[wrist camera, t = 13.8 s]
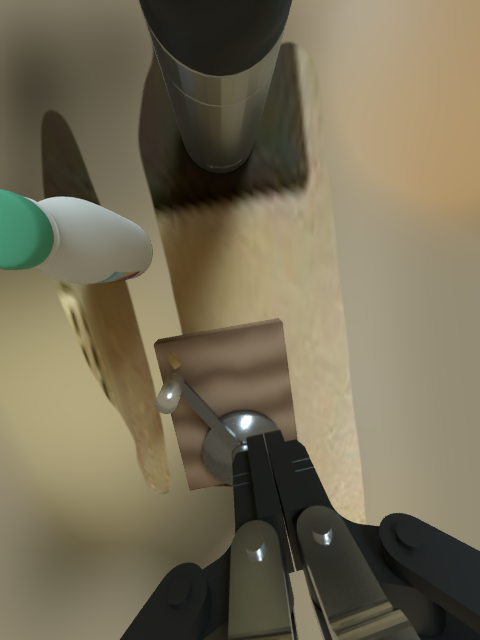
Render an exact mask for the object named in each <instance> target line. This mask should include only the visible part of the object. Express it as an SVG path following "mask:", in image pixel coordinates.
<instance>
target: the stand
mask: <svg viewBox="0 0 480 640" xmlns="http://www.w3.org/2000/svg"><path fill="white" fill-rule="evenodd" d="M154 348H155V352H156V356H157V360H158V364H159V368H160V372H161V376H162V380H163V384H164V383H165V381H166V378H167V377H168V376H169V375H170V374H172V373H178V374H180V375H182V376H183V378H184V379H185V380H186V382H187V383H188V384H189V385H190V386H191V387H192V388H193V389H194V390H195V391H196V392H197V394H198V395H199V396H200V397H201V398H202V399H203V400H204V401H205V402H206V403H207V404H208V406H209V407H210V408H211V409H212V410H213V411H214V412H215V413H216V414H217V415H218V417H221V416H222V415H224V414H226V413H229V412H231V411H235V410H243V409H244V410H254V411H258V412H260V413H263V414H265V415H266V416H268V417H269V418H271V419H272V420H273V421H274V423H275V424H276V425H277V427H278V429H280V430H281V432H282V435H283V438H284V441H285V442H286V441H290V440H294V439H296V440H297V432H296V424H295V416H294V408H293V401H292V393H291V385H290V377H289V369H288V362H287V354H286V346H285V338H284V330H283V323H282V321H281V320H280V319H279V318H278V319H272V320H266V321H260V322H255V323H249V324H243V325H238V326H232V327H226V328H220V329H215V330H209V331H203V332H198V333H192V334H186V335H181V336H175V337H169V338H163V339H158V340H157V341H156V343H155V344H154ZM171 416H172V420H173V424H174V428H175V432H176V436H177V440H178V444H179V448H180V452H181V456H182V460H183V464H184V468H185V472H186V476H187V480H188V484H189V488H190V490H195V489H200V488H205V487H210V486H215V485H221V484H225V483H223V482H221V481H219V480H218V479H216V478H215V477H214V476H212V475H211V473H210V472H209V471H208V469H207V468H206V466H205V464H204V460H203V442H204V437H205V435H206V432H207V430H208V429H209V426H208V425H207V424H206V422H205V421H204V420H203V419H202V418H201V417H200V416H199V415H198V414H197V413H196V412H195V411H194V410H193V409H192V408H191V406H190V405H189V404H188V403H187V402H186V401H185V400H184V399H183V398H182V397H181V396H180V399H179V402H178V405H177V408H176V410H175V411H173V412H172V413H171ZM297 441H298V440H297Z"/></svg>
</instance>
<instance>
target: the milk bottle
mask: <svg viewBox="0 0 480 640" xmlns="http://www.w3.org/2000/svg"><path fill="white" fill-rule="evenodd" d="M152 254H153V249H152V244H151V241H150V239H149V237H148V235H147V234H146V232H145V231H144V230H143V229H142V228H141V227H140V226H138V225H137V224H135V223H133V222H132V221H130V220H128V219H126V218H124V217H122V216H120V215H118V214H116V213H114V212H111V211H109V210H107V209H105V208H103V207H101V206H99V205H96V204H94V203H91V202H88V201H86V200H82V199H78V198H73V197H54V198H48V199H45V200H42V201H39V202H36V201H34V200H32V199H29V198H26V197H23V196H20V195H18V194H16V193H13V192H9V191H6V190H2V189H0V269H6V270H21V269H29V270H30V269H37V268H38V269H39V270H40V271H42V272H44V273H45V274H47V275H49V276H50V277H53V278H55V279H57V280H60V281H64V282H68V283H74V284H97V283H106V282H113V281H120V280H127V279H131V278H135V277H137V276H140V275H141V274H143V273H144V272H145V271H146V270H147V268H148V267H149V265H150V263H151V260H152Z"/></svg>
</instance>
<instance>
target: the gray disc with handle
mask: <svg viewBox="0 0 480 640" xmlns="http://www.w3.org/2000/svg"><path fill="white" fill-rule="evenodd" d="M180 396H181V397H182V398H183V399H184V400H185V401H186V402H187V403H188V404H189V405H190V406H191V408H192V409H193V410H194V411H195V412H196V413H197V414H198V415H199V416H200V417H201V418H202V419H203V420H204V421H205V422H206V424H207V425H208V426H209V429H208V430H207V432H206V435H205V437H204V442H203V460H204V464H205V466H206V468H207V469H208V471H209V472H210V473H211V475H212V476H214V477H215V478H216V479H218V480H219V481H221V482H223V483H225V484H228V485H233V471H232V463H233V460H234V458H235V455H236V453H239V452H243V451H247V450H248V446H247V439H246V437H249V436H253V435H257V434H262V433H263V437H264V441H265V436H264V433H266V432H270V431H274V430H279V429H278V427H277V425H276V424H275V423H274V421H273V420H272V419H271V418H269V417H268V416H266V415H265V414H263V413H260V412H258V411H254V410H244V409H243V410H235V411H231V412H229V413H226V414H224V415H222V416H221V417H218V415H217V414H216V413H215V412H214V411H213V410H212V409H211V408H210V407H209V406H208V404H207V403H206V402H205V401H204V400H203V399H202V398H201V397H200V396H199V395H198V394H197V392H196V391H195V390H194V389H193V388H192V387H191V386H190V385H189V384H188V383H187V382H186V380H185V379H184V378H183V376H182V375H180V374H178V373H172V374H170V375H169V376H168V377H167V378H166V381H165V383H164V385H163V387H162V389H161V391H160V393H159V395H158V397H157V399H156V401H155V406H156V408H157V410H158V411H159V412H161V413H164V414H168V413H172V412H173V411H175V410H176V408H177V405H178V402H179V399H180ZM265 445H266V441H265ZM266 449H267V445H266ZM267 453H268V450H267ZM268 458H269V455H268ZM269 462H270V460H269ZM270 466H271V464H270ZM271 470H272V469H271ZM272 474H273V473H272Z"/></svg>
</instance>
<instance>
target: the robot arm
mask: <svg viewBox="0 0 480 640" xmlns="http://www.w3.org/2000/svg"><path fill="white" fill-rule="evenodd" d="M139 1H140V4H141V8H142V10H143V13H144V17H145V20H146V23H147V26H148V30H149V33H150V36H151V39H152V42H153V46H154V49H155V52H156V55H157V58H158V61H159V65H160V68H161V71H162V74H163V78H164V81H165V84H166V87H167V91H168V94H169V97H170V101H171V104H172V107H173V110H174V114H175V117H176V120H177V123H178V127H179V130H180V134H181V137H182V140H183V143H184V146H185V148H186V151H187V153H188V154H189V156H190V157H191V159H192V160H193V161H194V162H195V163H196V164H197V165H198V166H200V167H201V168H203V169H205V170H207V171H209V172H213V173H227V172H231V171H233V170H235V169H237V168H239V167H240V166H241V165H242V164H243V163H244V162H245V161H246V160H247V158H248V157H249V155H250V153H251V151H252V149H253V145H254V142H255V138H256V134H257V131H258V127H259V124H260V120H261V116H262V113H263V109H264V105H265V101H266V98H267V94H268V90H269V86H270V83H271V79H272V75H273V71H274V68H275V64H276V60H277V57H278V52H279V48H280V45H281V41H282V37H283V33H284V30H285V26H286V22H287V18H288V15H289V10H290V7H291V3H292V0H139ZM264 436H265V441H266V445H267V449H266V445H265V441H264V437H263V433H262V434H257V435H253V436H249V437H246V439H247V446H248V450H247V451H243V452H239V453H236V455H235V458H234V460H233V463H232V471H233V486H234V487H233V488H234V489H233V490H234V508H235V535H234V537H233V540H232V543H231V545H230V547H229V548H228V550H227V551H226V552H225V553H224V555H222V556H221V557H220V558H219V559H218V560H216V561H215V562H213V563H212V564H210V565H209V566H207V567H206V568H204V569H203V570H202V569H201V568H200V567H199V566H198V565H196V564H194V563H183V564H180V565H178V566H176V567H175V568H173V569H172V570H171V571H170V572H169V573H168V574H167V575H166V576H165V577H164V578H163V580H162V581H161V583H160V584H159V585H158V587H157V588H156V590H155V591H154V592H153V594H152V595H151V597H150V598H149V599H148V601H147V602H146V604H145V605H144V606H143V608H142V609H141V611H140V612H139V613H138V615H137V616H136V618H135V619H134V620H133V622H132V623H131V625H130V626H129V627H128V629H127V630H126V632H125V633H124V635H123V636H122V637H121V639H120V640H299V638H298V631H297V625H296V618H295V612H294V597H293V592H292V587H291V582H290V577H289V573H291V572H294V567H293V562H292V557H291V553H290V548H289V543H288V539H287V534H288V538H289V542H290V546H291V550H292V554H293V559H294V562H295V567H296V570H297V571H299V570H303V571H304V574H305V578H306V582H307V585H308V589H309V595H310V600H311V604H312V607H313V610H314V613H315V616H316V619H317V622H318V625H319V628H320V631H321V635H322V638H323V640H480V551H478V550H476V549H474V548H472V547H470V546H469V545H467V544H465V543H463V542H461V541H459V540H457V539H456V538H454V537H452V536H450V535H448V534H446V533H444V532H442V531H440V530H438V529H437V528H435V527H433V526H431V525H429V524H427V523H425V522H423V521H421V520H419V519H418V518H415V517H413V516H411V515H407V514H403V513H393V514H390V515H388V516H386V517H385V518H384V519H383V520H382V521H381V523H380V526H371V525H363V524H357V523H354V522H351V521H349V520H347V519H345V518H344V517H342V516H341V515H340V514H338V513H337V512H336V511H335V509H334V508H333V507H332V505H331V503H330V501H329V499H328V496H327V494H326V492H325V490H324V488H323V486H322V483H321V481H320V479H319V477H318V475H317V473H316V470H315V468H314V466H313V464H312V462H311V460H310V458H309V455H308V453H307V451H306V449H305V447H304V446H303V445H302V444H301V443H300V442H298V441H297V440H296V439H294V440H290V441H286V442H285V441H284V438H283V435H282V432H281V430H280V429H279V430H274V431H270V432H266V433H264ZM267 450H268V453H267ZM268 455H269V458H268ZM269 460H270V462H269ZM270 464H271V466H270ZM271 469H272V470H271ZM272 473H273V474H272ZM273 477H274V478H273ZM274 481H275V482H274ZM275 485H276V486H275ZM282 514H283V515H282ZM283 518H284V520H283ZM284 522H285V524H284ZM285 526H286V529H285ZM286 530H287V534H286Z"/></svg>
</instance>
